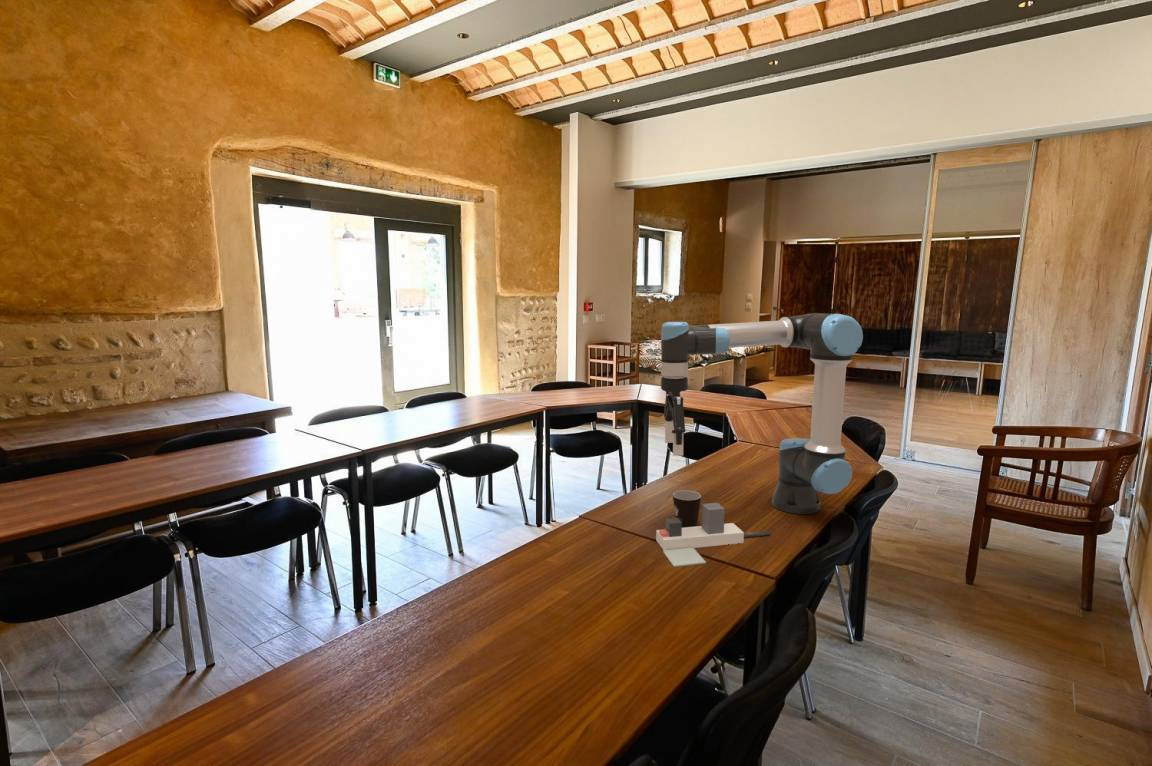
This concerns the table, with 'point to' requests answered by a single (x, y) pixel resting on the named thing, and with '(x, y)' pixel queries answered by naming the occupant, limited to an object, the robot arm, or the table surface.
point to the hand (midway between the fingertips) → (673, 448)
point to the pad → (684, 557)
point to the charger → (713, 518)
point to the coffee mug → (687, 507)
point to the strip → (699, 536)
